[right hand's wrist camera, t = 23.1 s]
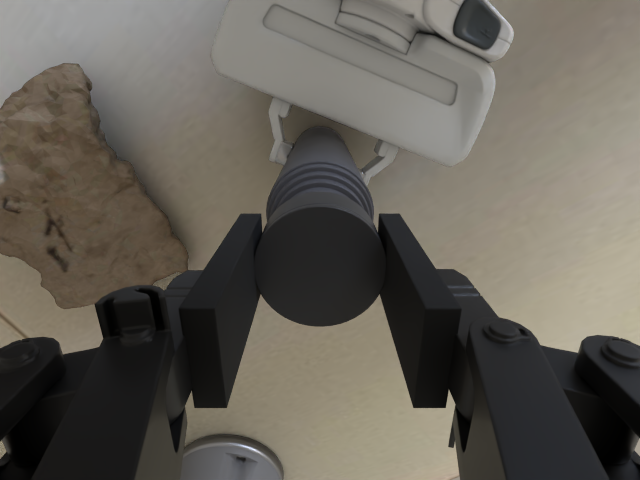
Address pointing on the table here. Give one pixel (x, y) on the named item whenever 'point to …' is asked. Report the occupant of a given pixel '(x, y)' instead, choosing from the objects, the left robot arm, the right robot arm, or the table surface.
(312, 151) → the bottle
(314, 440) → the table surface
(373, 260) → the cap
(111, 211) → the stone
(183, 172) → the table surface
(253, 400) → the table surface
